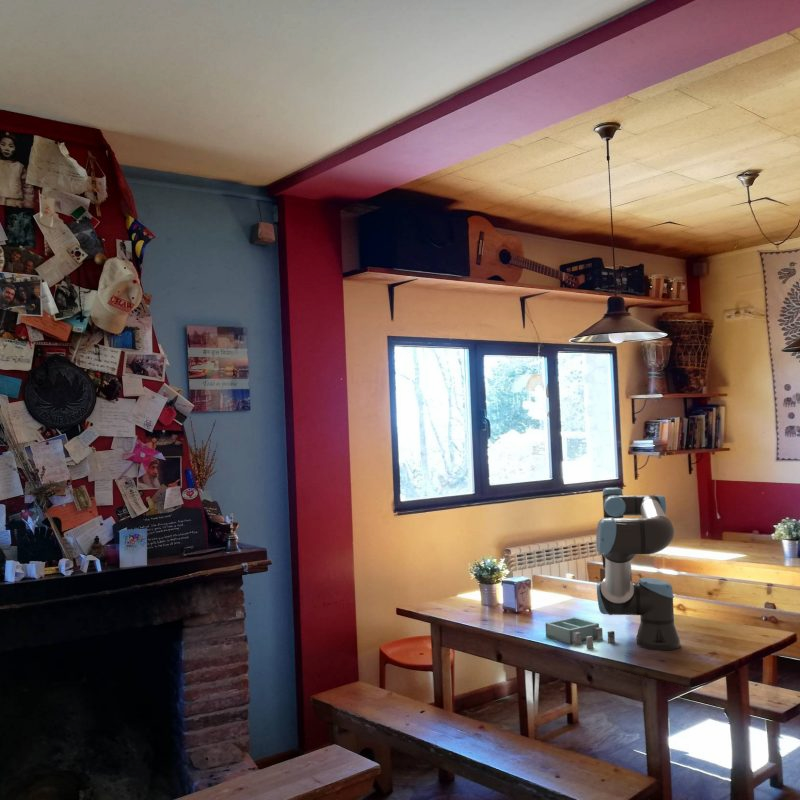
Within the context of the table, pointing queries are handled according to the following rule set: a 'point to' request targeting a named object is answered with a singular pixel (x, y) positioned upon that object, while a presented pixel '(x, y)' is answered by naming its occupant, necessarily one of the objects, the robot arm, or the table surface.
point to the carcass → (569, 629)
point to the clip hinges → (592, 637)
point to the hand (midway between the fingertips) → (616, 588)
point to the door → (602, 574)
